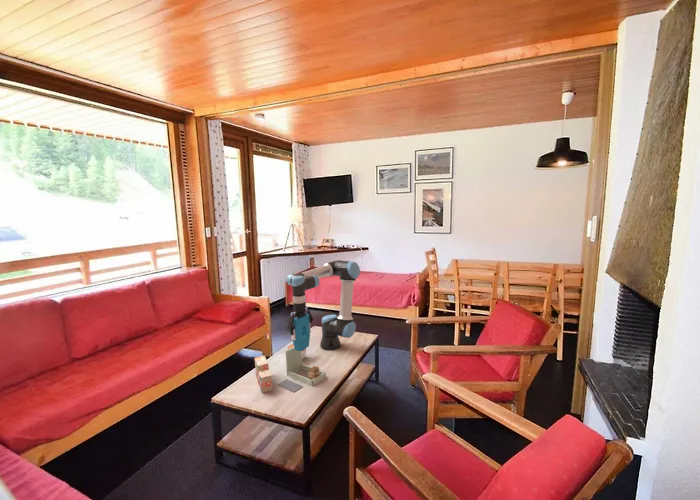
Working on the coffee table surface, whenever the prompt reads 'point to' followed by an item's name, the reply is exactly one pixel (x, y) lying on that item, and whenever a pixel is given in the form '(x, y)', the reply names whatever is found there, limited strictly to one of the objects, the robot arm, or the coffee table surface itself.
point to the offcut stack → (313, 372)
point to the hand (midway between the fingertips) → (301, 336)
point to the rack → (300, 367)
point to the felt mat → (290, 385)
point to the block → (302, 333)
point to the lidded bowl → (301, 351)
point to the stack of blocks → (263, 374)
